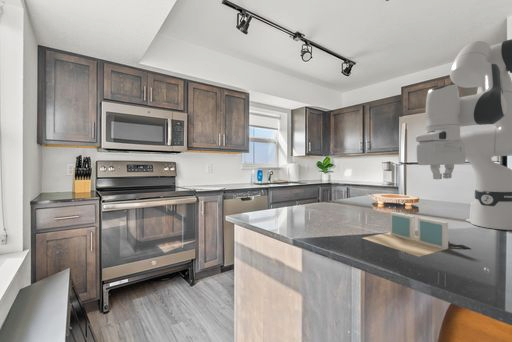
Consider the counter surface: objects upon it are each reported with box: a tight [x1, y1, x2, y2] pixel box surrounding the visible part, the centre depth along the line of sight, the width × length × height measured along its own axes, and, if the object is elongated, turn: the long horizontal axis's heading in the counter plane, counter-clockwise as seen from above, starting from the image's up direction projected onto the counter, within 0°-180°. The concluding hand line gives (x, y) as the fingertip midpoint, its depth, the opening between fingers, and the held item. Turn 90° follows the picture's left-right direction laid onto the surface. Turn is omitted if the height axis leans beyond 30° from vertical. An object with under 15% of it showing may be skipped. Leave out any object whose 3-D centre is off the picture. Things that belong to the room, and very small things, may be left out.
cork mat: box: [362, 231, 454, 258], centre depth 82 cm, size 18×20×1 cm
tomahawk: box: [448, 240, 472, 250], centre depth 84 cm, size 21×7×1 cm, turn 166°
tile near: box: [417, 216, 449, 250], centre depth 78 cm, size 2×8×8 cm, turn 24°
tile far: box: [389, 211, 416, 240], centre depth 87 cm, size 2×8×8 cm, turn 24°
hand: (442, 178), depth 79 cm, fingers open, 4 cm apart
